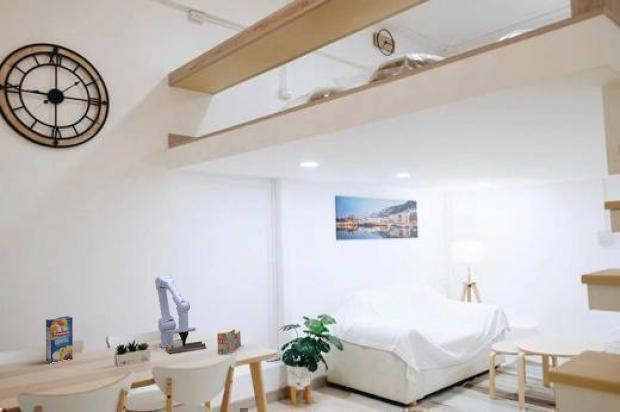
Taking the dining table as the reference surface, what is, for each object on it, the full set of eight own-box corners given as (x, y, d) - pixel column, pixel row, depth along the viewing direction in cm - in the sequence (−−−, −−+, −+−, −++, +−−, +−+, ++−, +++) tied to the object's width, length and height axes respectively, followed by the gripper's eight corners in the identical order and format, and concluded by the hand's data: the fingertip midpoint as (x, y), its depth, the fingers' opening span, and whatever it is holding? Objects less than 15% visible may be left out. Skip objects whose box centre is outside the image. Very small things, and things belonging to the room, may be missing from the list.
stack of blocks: (231, 345, 305) (231, 325, 306) (241, 345, 304) (240, 325, 304) (217, 354, 284) (217, 332, 285) (227, 354, 283) (227, 333, 283)
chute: (165, 350, 297) (165, 343, 297) (200, 344, 308) (200, 338, 308) (170, 354, 286) (170, 347, 287) (206, 348, 297) (206, 342, 298)
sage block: (172, 348, 296) (171, 340, 296) (180, 347, 298) (180, 339, 298) (174, 350, 291) (174, 341, 291) (182, 348, 294) (182, 340, 294)
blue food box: (67, 357, 286) (67, 316, 288) (72, 359, 281) (72, 317, 283) (45, 361, 278) (45, 319, 279) (50, 363, 273) (50, 320, 274)
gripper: (173, 324, 290) (173, 347, 290) (196, 321, 298) (197, 343, 297) (170, 322, 296) (170, 345, 296) (193, 319, 304) (193, 341, 303)
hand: (183, 344), depth 297 cm, fingers closed
